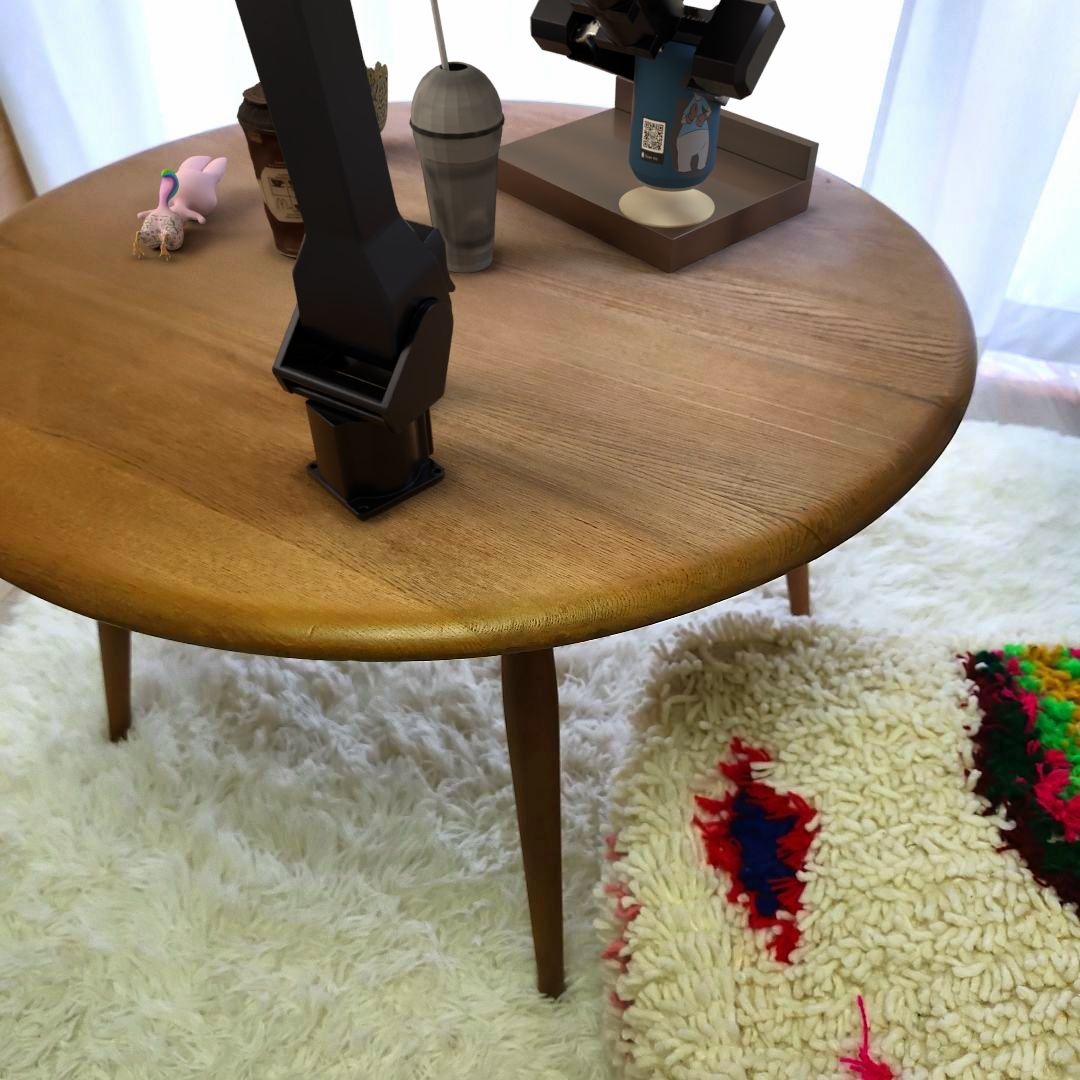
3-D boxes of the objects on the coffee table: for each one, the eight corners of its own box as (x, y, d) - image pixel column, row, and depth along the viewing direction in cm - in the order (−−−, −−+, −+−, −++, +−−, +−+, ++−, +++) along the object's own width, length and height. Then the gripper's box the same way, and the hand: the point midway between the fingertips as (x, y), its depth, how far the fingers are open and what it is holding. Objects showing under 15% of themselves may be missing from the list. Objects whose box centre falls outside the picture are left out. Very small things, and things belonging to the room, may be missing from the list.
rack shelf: (669, 273, 84) (675, 203, 80) (485, 182, 97) (482, 118, 93) (807, 209, 93) (819, 143, 88) (621, 134, 106) (624, 73, 102)
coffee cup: (373, 257, 86) (353, 98, 77) (275, 275, 84) (242, 114, 75) (348, 215, 92) (327, 63, 83) (255, 231, 90) (224, 77, 81)
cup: (411, 148, 103) (403, 64, 98) (364, 173, 99) (353, 88, 94) (354, 133, 106) (343, 52, 101) (306, 157, 102) (292, 73, 96)
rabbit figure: (192, 276, 87) (254, 176, 96) (170, 215, 82) (236, 116, 91) (124, 270, 88) (191, 172, 97) (97, 209, 83) (171, 112, 92)
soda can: (655, 154, 88) (667, 1, 80) (727, 174, 85) (747, 16, 77) (611, 181, 84) (619, 22, 76) (685, 202, 81) (701, 39, 73)
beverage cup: (498, 284, 83) (487, 16, 69) (411, 276, 84) (384, 10, 70) (517, 243, 88) (511, -14, 74) (435, 236, 89) (414, -18, 76)
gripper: (795, -141, 62) (843, 17, 76) (554, -171, 71) (636, -25, 84) (711, 29, 63) (774, 155, 76) (483, -21, 71) (576, 100, 85)
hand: (687, 90), depth 81 cm, fingers closed on soda can, 7 cm apart
